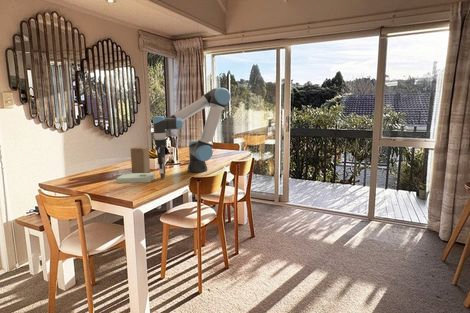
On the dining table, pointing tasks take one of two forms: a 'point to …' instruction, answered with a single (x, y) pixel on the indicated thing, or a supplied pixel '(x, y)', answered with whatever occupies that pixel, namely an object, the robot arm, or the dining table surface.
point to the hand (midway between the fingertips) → (162, 172)
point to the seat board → (135, 177)
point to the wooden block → (140, 159)
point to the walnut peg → (164, 169)
